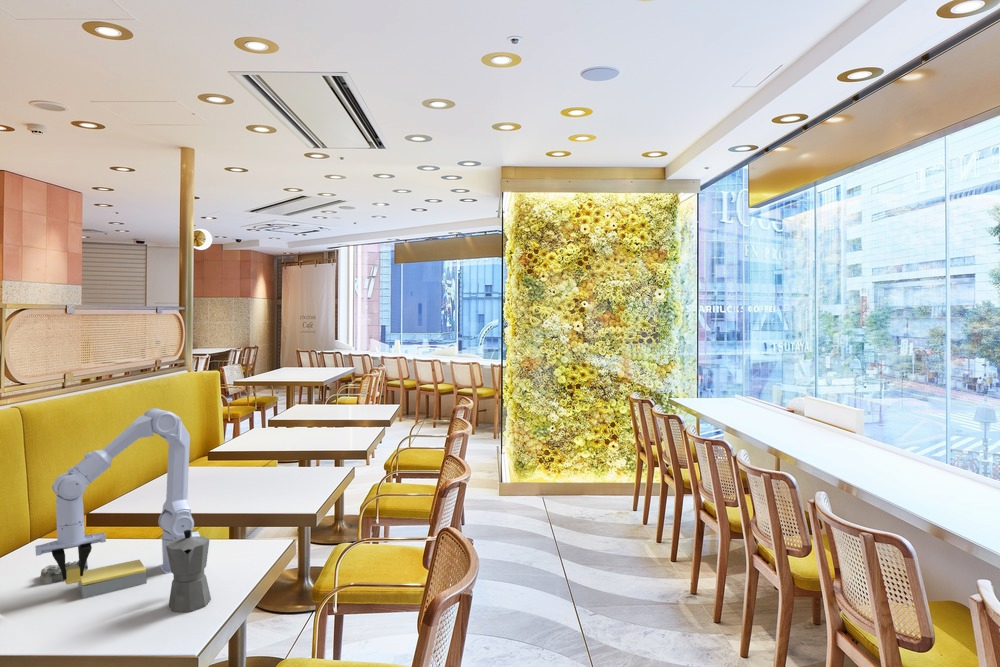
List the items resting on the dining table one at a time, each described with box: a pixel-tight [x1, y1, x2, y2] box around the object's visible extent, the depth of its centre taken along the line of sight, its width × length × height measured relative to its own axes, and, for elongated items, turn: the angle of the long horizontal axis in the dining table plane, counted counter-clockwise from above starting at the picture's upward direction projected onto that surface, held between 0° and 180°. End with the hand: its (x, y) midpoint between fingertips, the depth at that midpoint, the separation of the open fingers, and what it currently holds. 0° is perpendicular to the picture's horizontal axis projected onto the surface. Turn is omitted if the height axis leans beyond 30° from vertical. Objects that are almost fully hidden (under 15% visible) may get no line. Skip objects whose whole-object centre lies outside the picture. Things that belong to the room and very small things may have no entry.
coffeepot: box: [166, 530, 212, 613], centre depth 159 cm, size 15×9×18 cm, turn 25°
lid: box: [64, 559, 147, 586], centre depth 169 cm, size 17×9×4 cm, turn 128°
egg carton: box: [39, 560, 89, 585], centre depth 176 cm, size 11×8×4 cm
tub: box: [77, 571, 148, 600], centre depth 170 cm, size 14×9×4 cm, turn 128°
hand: (72, 576), depth 164 cm, fingers closed on lid, 3 cm apart
